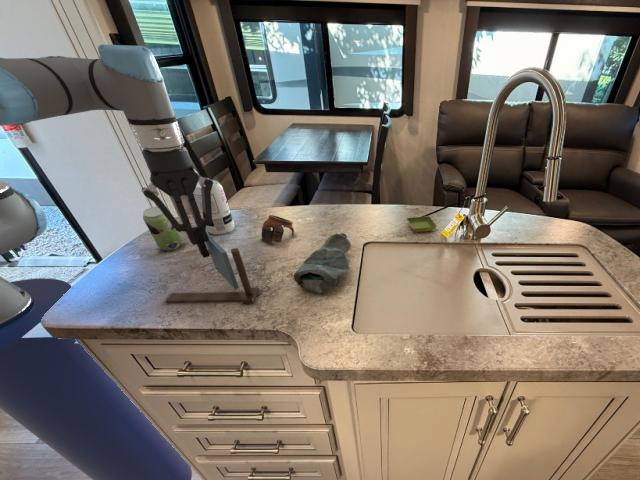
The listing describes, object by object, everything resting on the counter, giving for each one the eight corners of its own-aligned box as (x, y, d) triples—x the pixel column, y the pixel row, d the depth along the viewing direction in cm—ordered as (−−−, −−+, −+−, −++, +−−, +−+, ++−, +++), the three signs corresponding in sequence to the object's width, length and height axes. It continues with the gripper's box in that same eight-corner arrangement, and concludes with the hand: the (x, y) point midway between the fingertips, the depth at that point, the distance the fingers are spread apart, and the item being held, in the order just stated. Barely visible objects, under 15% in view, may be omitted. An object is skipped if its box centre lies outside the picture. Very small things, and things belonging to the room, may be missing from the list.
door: (211, 269, 82) (197, 233, 76) (219, 266, 84) (206, 231, 77) (230, 291, 75) (216, 254, 69) (239, 288, 76) (226, 251, 70)
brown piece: (258, 237, 102) (264, 212, 100) (288, 245, 107) (294, 221, 105) (260, 244, 92) (267, 216, 90) (293, 252, 97) (301, 226, 95)
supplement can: (203, 230, 104) (185, 183, 95) (227, 222, 109) (213, 177, 100) (215, 238, 100) (197, 190, 91) (240, 229, 105) (225, 183, 96)
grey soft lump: (337, 299, 77) (367, 248, 96) (332, 275, 72) (364, 226, 91) (288, 295, 79) (326, 246, 98) (279, 271, 75) (322, 225, 94)
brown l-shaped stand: (164, 305, 74) (136, 256, 66) (174, 292, 78) (150, 245, 70) (253, 303, 75) (237, 255, 67) (259, 291, 79) (245, 244, 71)
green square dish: (437, 232, 107) (437, 226, 106) (412, 234, 105) (412, 228, 104) (429, 221, 114) (429, 215, 113) (405, 223, 112) (405, 217, 111)
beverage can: (181, 240, 98) (164, 202, 91) (186, 250, 94) (168, 211, 86) (157, 246, 95) (138, 207, 88) (161, 256, 91) (141, 216, 83)
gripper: (126, 155, 56) (178, 270, 70) (205, 146, 63) (238, 252, 77) (119, 147, 60) (170, 256, 74) (194, 139, 67) (227, 241, 81)
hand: (205, 254), depth 76 cm, fingers closed
